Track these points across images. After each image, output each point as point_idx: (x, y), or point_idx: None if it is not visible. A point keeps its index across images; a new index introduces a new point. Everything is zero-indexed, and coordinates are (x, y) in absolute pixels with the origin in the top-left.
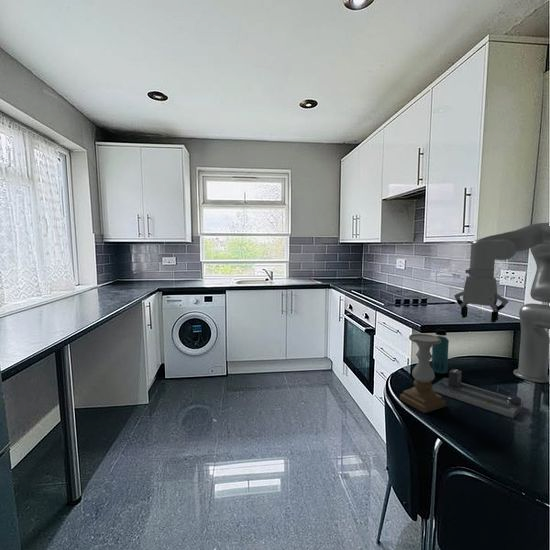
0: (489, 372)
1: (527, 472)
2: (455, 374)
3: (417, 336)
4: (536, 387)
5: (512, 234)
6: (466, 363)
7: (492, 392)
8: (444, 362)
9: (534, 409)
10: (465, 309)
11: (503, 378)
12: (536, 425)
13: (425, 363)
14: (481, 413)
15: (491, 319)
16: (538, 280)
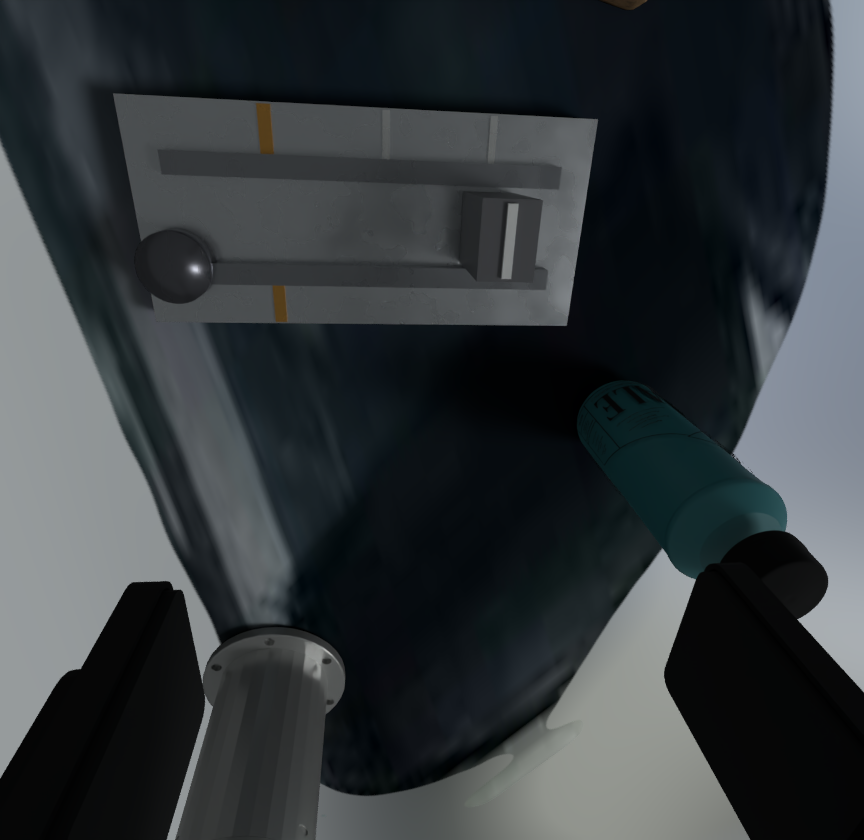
0: (422, 601)
1: None
2: (494, 197)
3: None
4: (222, 582)
5: None
6: (532, 628)
7: (294, 285)
8: (612, 426)
9: (121, 324)
10: (811, 776)
11: (355, 579)
12: (23, 112)
13: None
14: (268, 16)
15: (155, 630)
16: None
